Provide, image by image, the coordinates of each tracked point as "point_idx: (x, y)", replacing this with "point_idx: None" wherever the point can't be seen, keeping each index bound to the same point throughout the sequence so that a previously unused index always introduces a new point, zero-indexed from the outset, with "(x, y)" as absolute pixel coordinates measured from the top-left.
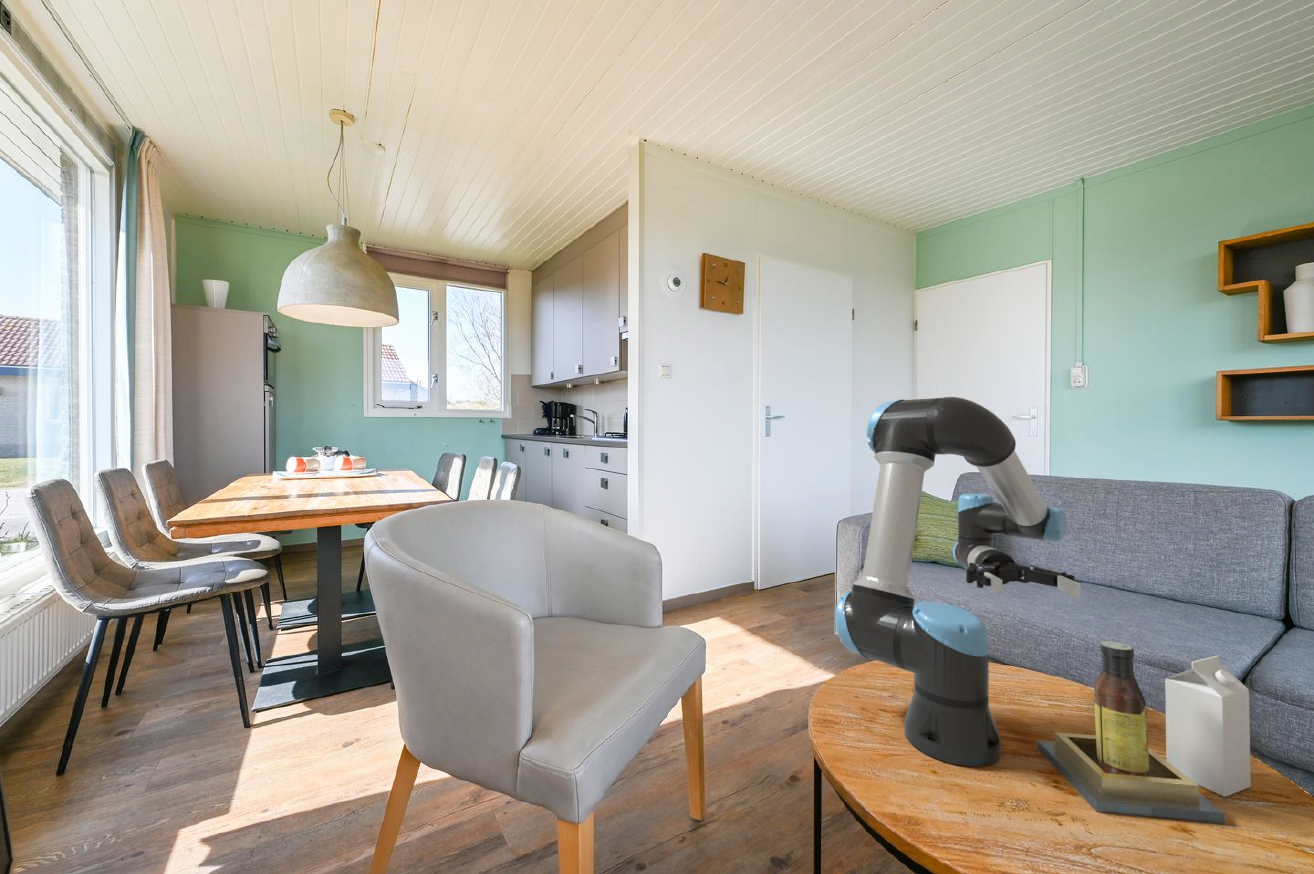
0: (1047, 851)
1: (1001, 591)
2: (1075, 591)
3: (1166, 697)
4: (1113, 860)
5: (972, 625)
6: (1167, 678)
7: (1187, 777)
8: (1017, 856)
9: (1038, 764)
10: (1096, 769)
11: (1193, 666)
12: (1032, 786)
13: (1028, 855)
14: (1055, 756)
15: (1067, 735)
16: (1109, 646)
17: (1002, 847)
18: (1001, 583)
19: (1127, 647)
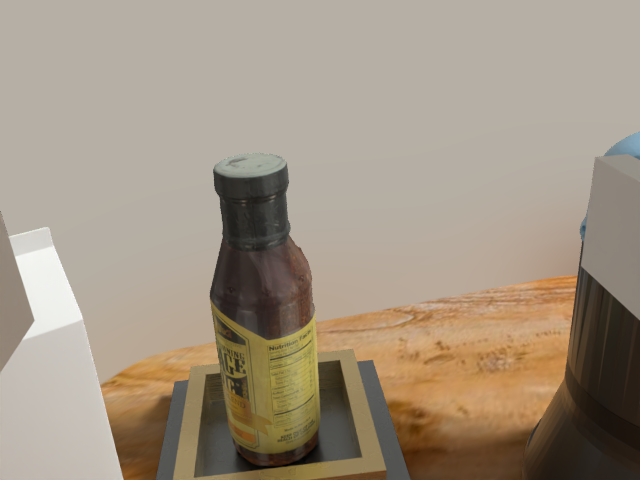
0: (466, 305)
1: (589, 248)
2: (17, 281)
3: (94, 365)
4: (391, 311)
5: (637, 133)
6: (78, 316)
7: (189, 382)
8: (502, 293)
9: (437, 474)
10: (352, 364)
11: (50, 237)
12: (464, 404)
13: (489, 297)
14: (399, 461)
15: (357, 462)
16: (276, 157)
17: (519, 299)
18: (597, 185)
19: (233, 158)
